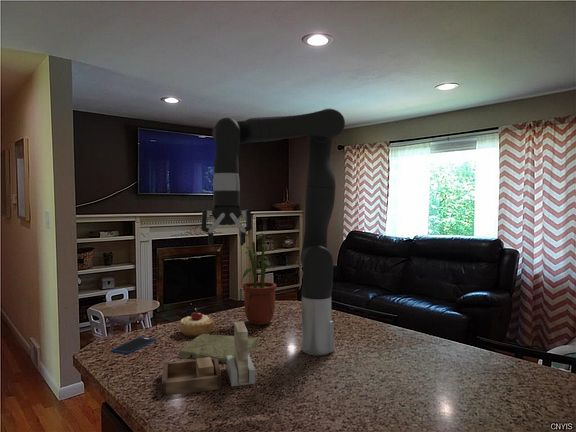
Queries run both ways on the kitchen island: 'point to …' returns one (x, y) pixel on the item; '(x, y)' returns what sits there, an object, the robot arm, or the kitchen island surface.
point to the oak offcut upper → (204, 367)
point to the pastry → (196, 325)
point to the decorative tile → (213, 347)
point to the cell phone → (133, 345)
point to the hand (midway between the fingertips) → (226, 245)
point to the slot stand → (234, 376)
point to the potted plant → (259, 290)
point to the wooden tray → (188, 378)
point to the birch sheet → (241, 351)
